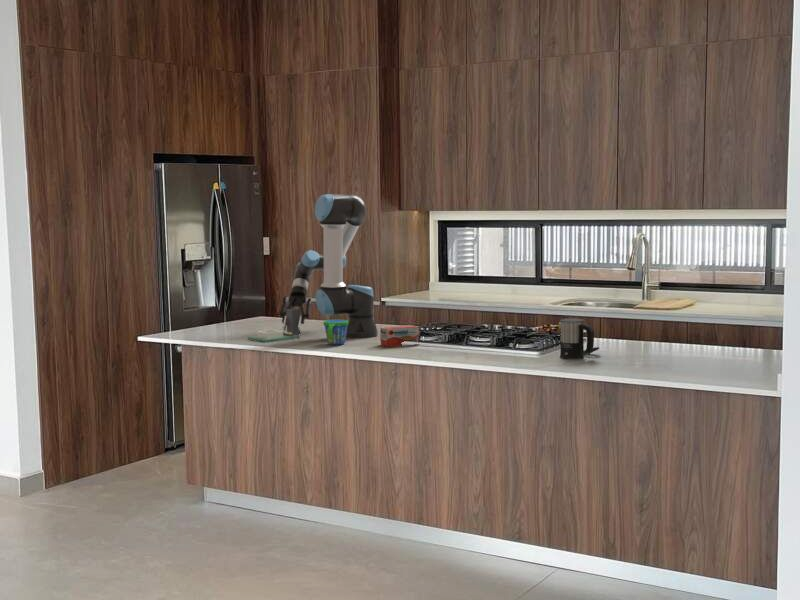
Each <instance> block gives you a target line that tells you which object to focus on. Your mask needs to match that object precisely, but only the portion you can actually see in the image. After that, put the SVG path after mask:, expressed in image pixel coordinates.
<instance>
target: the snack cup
mask: <svg viewBox="0 0 800 600" xmlns="http://www.w3.org/2000/svg"><path fill="white" fill-rule="evenodd" d="M323 325H324V328H325V329H324V330H325V335H326V341H327V344H328V345H330V346H342V345H344V344H345V343H346V339H347V338H346V332H347V325H348V319H327V320H324V321H323Z"/></svg>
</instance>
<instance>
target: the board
mask: <svg viewBox="0 0 800 600" xmlns="http://www.w3.org/2000/svg"><path fill="white" fill-rule="evenodd" d="M294 338H298V339H300V335H294V334H292V333H291V334H290V332H289V334H288V332H287V331H284V330H278V329H265V330H257V331H256V335H252V336H248V337H247V339H251V340H250V341H254V340H256V341H255V342H259V341H262V342H261V343H265V342H267V343H272V342H271V341H275V342H280V341H279V340H283V341H287V340H286V339H291V340H295V339H294Z"/></svg>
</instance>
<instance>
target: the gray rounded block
mask: <svg viewBox="0 0 800 600" xmlns="http://www.w3.org/2000/svg"><path fill="white" fill-rule="evenodd" d="M285 311H286V315H287V326H286V333H287V332H288V334H289V332H290V334H291V333H292V334H294V335H297V336H300V335H299V334H301V331H299V329H298V324H299V319H300V316H301V309H300V308H293V309H287V308H286V309H285Z"/></svg>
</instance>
